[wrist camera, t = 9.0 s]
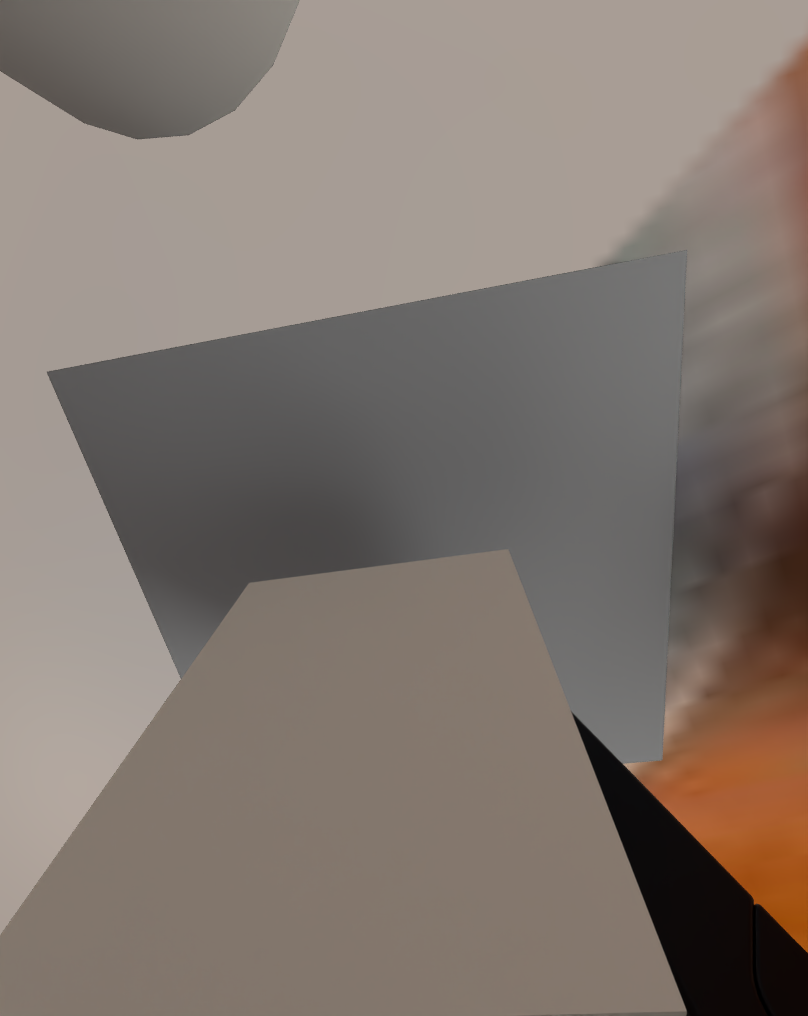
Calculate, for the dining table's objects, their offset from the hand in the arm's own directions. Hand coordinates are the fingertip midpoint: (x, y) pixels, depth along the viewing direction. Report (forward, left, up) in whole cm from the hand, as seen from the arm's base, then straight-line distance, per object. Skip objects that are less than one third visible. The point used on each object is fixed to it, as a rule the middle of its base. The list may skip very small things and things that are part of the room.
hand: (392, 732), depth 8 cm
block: (0, 0, -2) cm, 2 cm away
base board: (0, 0, -7) cm, 7 cm away
